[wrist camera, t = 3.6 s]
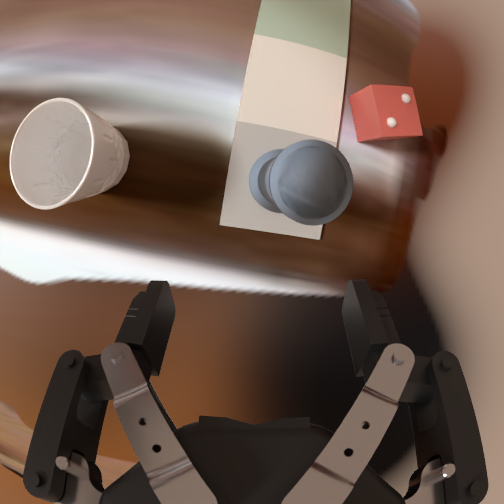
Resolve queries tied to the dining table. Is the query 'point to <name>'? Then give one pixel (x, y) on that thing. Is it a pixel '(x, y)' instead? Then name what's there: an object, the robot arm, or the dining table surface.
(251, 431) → the robot arm
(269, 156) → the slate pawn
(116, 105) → the dining table surface
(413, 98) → the red die
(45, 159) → the white cup
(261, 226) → the game track
